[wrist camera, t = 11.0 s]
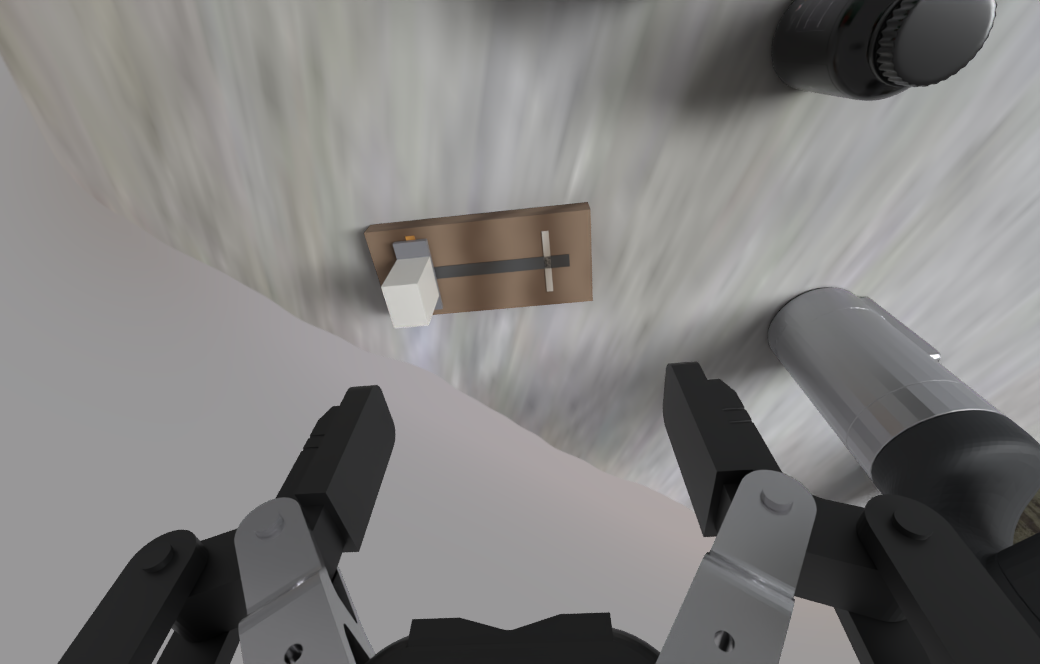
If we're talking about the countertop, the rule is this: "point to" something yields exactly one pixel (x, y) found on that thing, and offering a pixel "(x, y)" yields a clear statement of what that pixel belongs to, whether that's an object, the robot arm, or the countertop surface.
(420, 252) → the fader
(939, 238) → the countertop surface
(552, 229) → the board
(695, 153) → the countertop surface
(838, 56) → the supplement bottle
